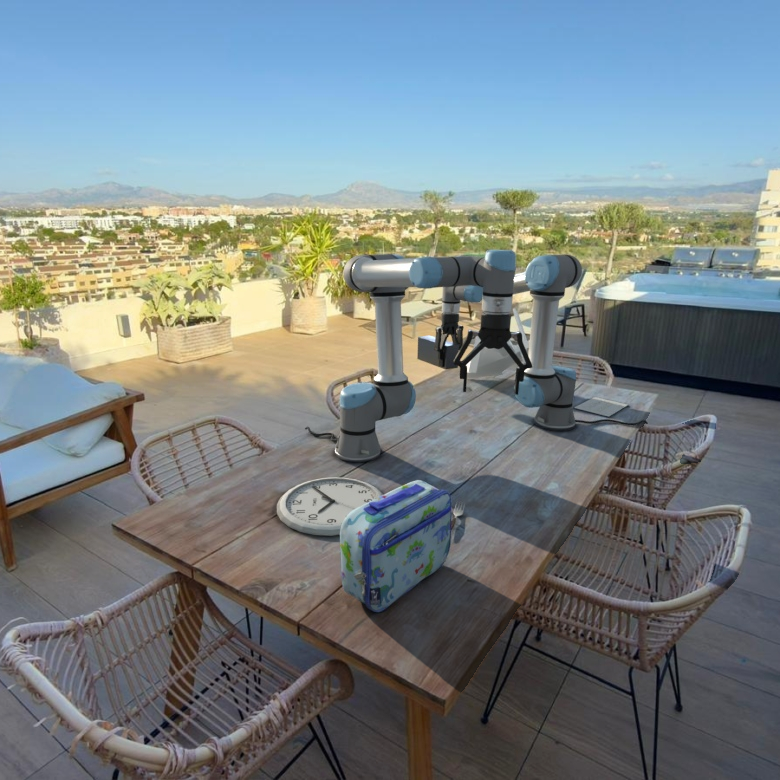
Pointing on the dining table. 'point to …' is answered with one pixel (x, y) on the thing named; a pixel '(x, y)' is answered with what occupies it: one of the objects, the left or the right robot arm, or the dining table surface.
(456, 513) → the fork
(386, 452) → the dining table surface
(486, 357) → the white plastic object
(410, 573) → the lunch box
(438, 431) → the dining table surface
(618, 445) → the dining table surface
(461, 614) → the dining table surface
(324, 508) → the wall clock
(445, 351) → the box
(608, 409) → the invitation card
